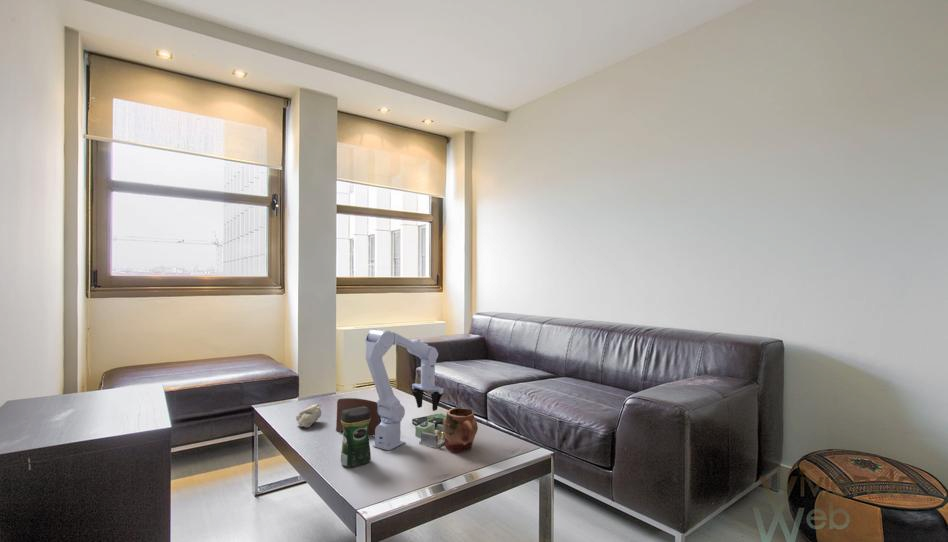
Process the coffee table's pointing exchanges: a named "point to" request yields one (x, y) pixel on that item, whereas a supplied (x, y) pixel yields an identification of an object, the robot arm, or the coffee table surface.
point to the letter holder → (354, 403)
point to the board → (425, 428)
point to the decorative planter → (459, 429)
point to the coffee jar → (355, 437)
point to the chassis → (433, 437)
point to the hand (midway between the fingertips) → (427, 408)
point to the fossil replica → (309, 416)
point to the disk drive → (429, 419)
